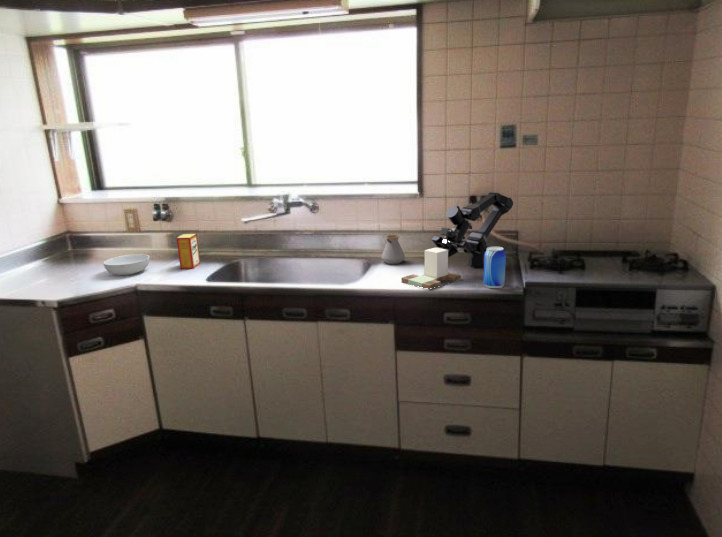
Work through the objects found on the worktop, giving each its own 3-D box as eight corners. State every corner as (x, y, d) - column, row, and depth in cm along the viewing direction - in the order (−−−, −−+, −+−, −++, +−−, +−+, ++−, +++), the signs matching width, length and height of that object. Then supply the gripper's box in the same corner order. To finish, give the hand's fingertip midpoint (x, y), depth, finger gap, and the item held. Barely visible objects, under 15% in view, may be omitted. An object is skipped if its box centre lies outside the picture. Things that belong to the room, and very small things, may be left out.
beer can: (492, 282, 223) (493, 244, 218) (508, 286, 216) (510, 248, 212) (479, 286, 218) (480, 248, 213) (495, 290, 211) (497, 251, 207)
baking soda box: (187, 264, 271) (183, 233, 267) (200, 263, 271) (196, 233, 267) (180, 269, 262) (176, 237, 258) (193, 268, 262) (189, 237, 258)
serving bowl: (127, 266, 272) (125, 252, 271) (160, 268, 266) (158, 254, 264) (95, 277, 254) (92, 263, 252) (130, 280, 247) (128, 265, 245)
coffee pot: (383, 259, 266) (382, 229, 262) (406, 259, 264) (406, 229, 260) (375, 270, 246) (375, 239, 242) (400, 271, 244) (400, 239, 240)
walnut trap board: (433, 272, 240) (433, 268, 239) (461, 279, 228) (461, 275, 227) (401, 282, 227) (401, 277, 227) (429, 290, 215) (429, 285, 215)
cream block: (435, 271, 234) (435, 247, 231) (447, 274, 228) (448, 249, 225) (424, 275, 229) (424, 250, 226) (436, 278, 224) (436, 252, 221)
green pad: (422, 279, 230) (422, 275, 229) (436, 283, 224) (436, 278, 223) (408, 284, 224) (408, 279, 224) (422, 288, 218) (422, 283, 218)
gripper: (434, 217, 235) (417, 246, 232) (468, 222, 222) (450, 253, 218) (446, 232, 242) (429, 260, 238) (479, 238, 229) (462, 268, 225)
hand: (442, 260), depth 230 cm, fingers closed
